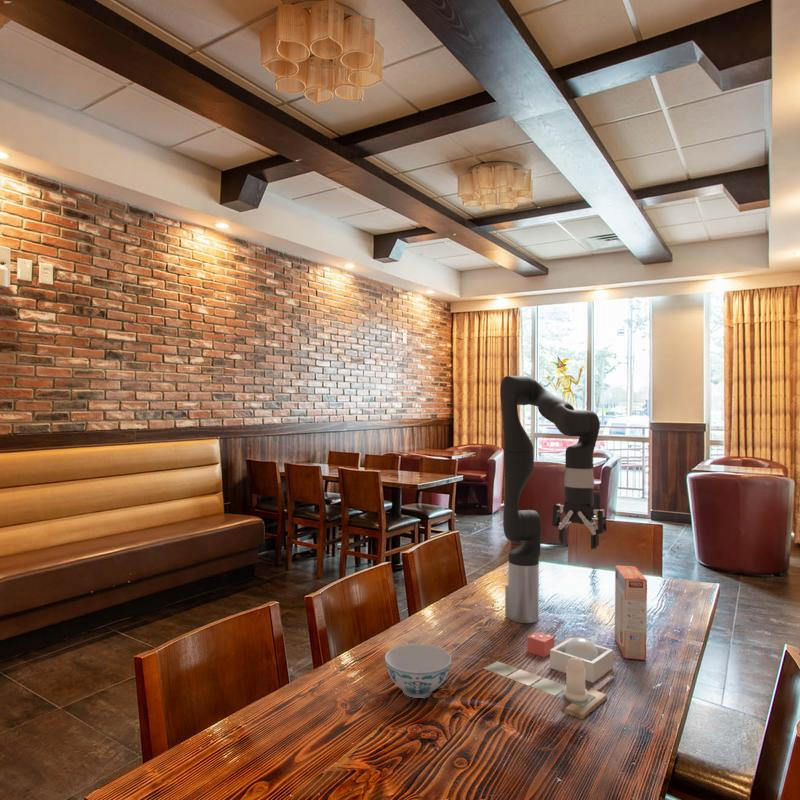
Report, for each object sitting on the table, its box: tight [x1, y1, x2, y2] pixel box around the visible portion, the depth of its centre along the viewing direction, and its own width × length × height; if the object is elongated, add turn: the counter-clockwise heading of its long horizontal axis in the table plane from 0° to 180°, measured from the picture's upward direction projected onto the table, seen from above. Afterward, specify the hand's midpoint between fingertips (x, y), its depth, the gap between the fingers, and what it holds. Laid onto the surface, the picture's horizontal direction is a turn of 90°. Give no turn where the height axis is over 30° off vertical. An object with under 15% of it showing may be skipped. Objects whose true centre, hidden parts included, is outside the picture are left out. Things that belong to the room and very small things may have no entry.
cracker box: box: [614, 565, 648, 661], centre depth 154 cm, size 14×6×21 cm, turn 168°
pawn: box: [562, 657, 588, 702], centre depth 126 cm, size 5×5×8 cm
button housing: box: [549, 637, 614, 688], centre depth 140 cm, size 11×11×6 cm
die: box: [526, 631, 555, 658], centre depth 149 cm, size 5×5×5 cm
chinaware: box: [384, 643, 452, 699], centre depth 129 cm, size 15×15×8 cm
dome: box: [565, 636, 599, 661], centre depth 140 cm, size 8×8×8 cm
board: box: [483, 660, 608, 720], centre depth 132 cm, size 28×12×1 cm, turn 47°
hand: (578, 546), depth 152 cm, fingers open, 8 cm apart
